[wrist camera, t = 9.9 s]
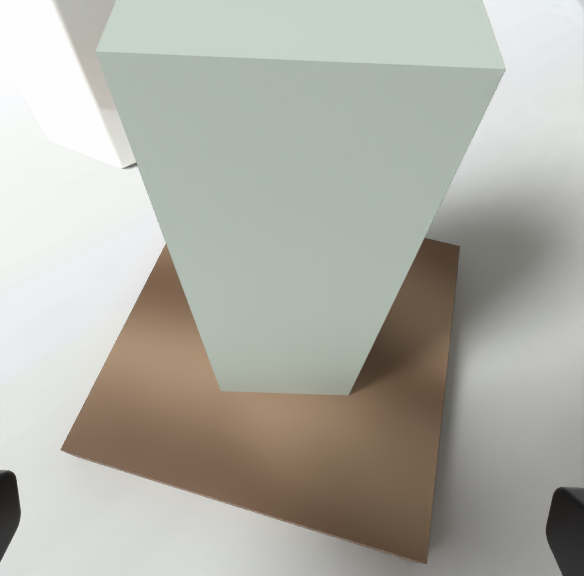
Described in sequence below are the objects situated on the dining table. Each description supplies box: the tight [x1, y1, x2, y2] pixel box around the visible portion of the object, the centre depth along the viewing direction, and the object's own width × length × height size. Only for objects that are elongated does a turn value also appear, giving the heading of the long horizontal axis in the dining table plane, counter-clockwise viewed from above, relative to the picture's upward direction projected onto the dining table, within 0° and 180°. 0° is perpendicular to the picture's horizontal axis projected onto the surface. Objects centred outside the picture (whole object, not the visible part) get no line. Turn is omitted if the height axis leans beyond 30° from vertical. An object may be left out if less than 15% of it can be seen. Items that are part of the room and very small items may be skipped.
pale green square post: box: [95, 0, 506, 395], centre depth 11 cm, size 4×4×12 cm
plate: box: [61, 238, 460, 564], centre depth 17 cm, size 12×12×1 cm
